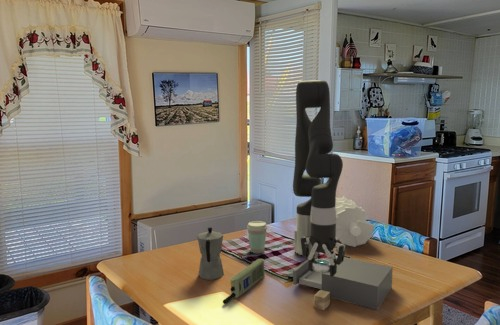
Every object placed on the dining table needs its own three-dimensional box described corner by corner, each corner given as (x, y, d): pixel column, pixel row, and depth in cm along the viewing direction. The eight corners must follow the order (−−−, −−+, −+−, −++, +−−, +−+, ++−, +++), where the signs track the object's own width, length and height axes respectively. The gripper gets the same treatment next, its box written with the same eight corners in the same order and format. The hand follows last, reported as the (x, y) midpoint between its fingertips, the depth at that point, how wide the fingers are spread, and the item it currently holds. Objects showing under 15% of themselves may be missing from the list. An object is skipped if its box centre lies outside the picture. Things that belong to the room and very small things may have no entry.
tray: (291, 283, 138) (291, 269, 137) (313, 266, 153) (313, 253, 152) (342, 297, 128) (342, 282, 127) (360, 277, 143) (361, 263, 142)
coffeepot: (200, 267, 156) (199, 222, 153) (225, 267, 156) (224, 222, 153) (195, 285, 141) (193, 235, 138) (222, 285, 141) (221, 235, 138)
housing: (321, 295, 133) (321, 273, 132) (340, 276, 147) (341, 256, 146) (376, 309, 123) (377, 286, 122) (391, 288, 137) (392, 266, 136)
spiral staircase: (345, 258, 174) (329, 236, 198) (382, 240, 173) (362, 220, 198) (327, 222, 170) (314, 204, 194) (366, 203, 169) (347, 187, 194)
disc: (309, 270, 123) (309, 263, 123) (317, 263, 128) (317, 257, 128) (327, 274, 120) (327, 268, 120) (335, 267, 125) (335, 261, 125)
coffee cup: (271, 249, 174) (270, 222, 172) (260, 256, 167) (260, 227, 165) (254, 246, 178) (253, 219, 177) (243, 252, 171) (242, 224, 169)
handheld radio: (266, 276, 148) (229, 307, 126) (258, 275, 149) (220, 305, 128) (265, 259, 147) (228, 286, 125) (257, 258, 148) (219, 284, 127)
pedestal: (314, 307, 125) (314, 295, 124) (320, 301, 128) (320, 289, 128) (323, 310, 123) (324, 297, 122) (329, 304, 127) (329, 292, 126)
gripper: (295, 219, 122) (295, 272, 125) (341, 227, 114) (340, 283, 117) (306, 213, 128) (306, 263, 131) (350, 220, 121) (349, 273, 123)
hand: (322, 272), depth 124 cm, fingers closed on disc, 6 cm apart
